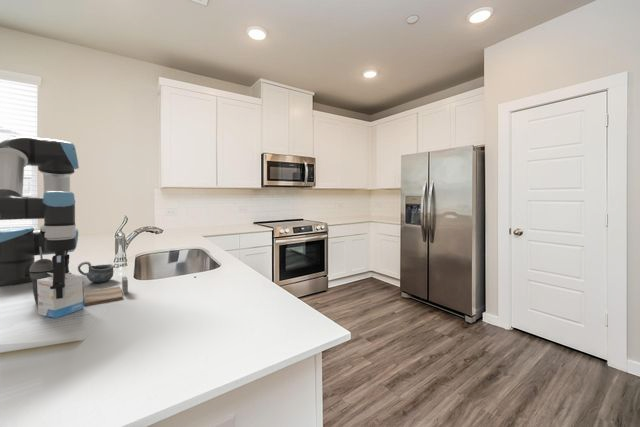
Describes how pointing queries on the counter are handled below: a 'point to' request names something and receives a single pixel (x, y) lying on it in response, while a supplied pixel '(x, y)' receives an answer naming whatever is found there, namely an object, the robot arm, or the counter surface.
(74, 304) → the ink box
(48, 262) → the beverage cup
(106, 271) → the mug
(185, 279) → the counter surface
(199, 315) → the counter surface
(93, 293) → the roll holder
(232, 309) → the counter surface
